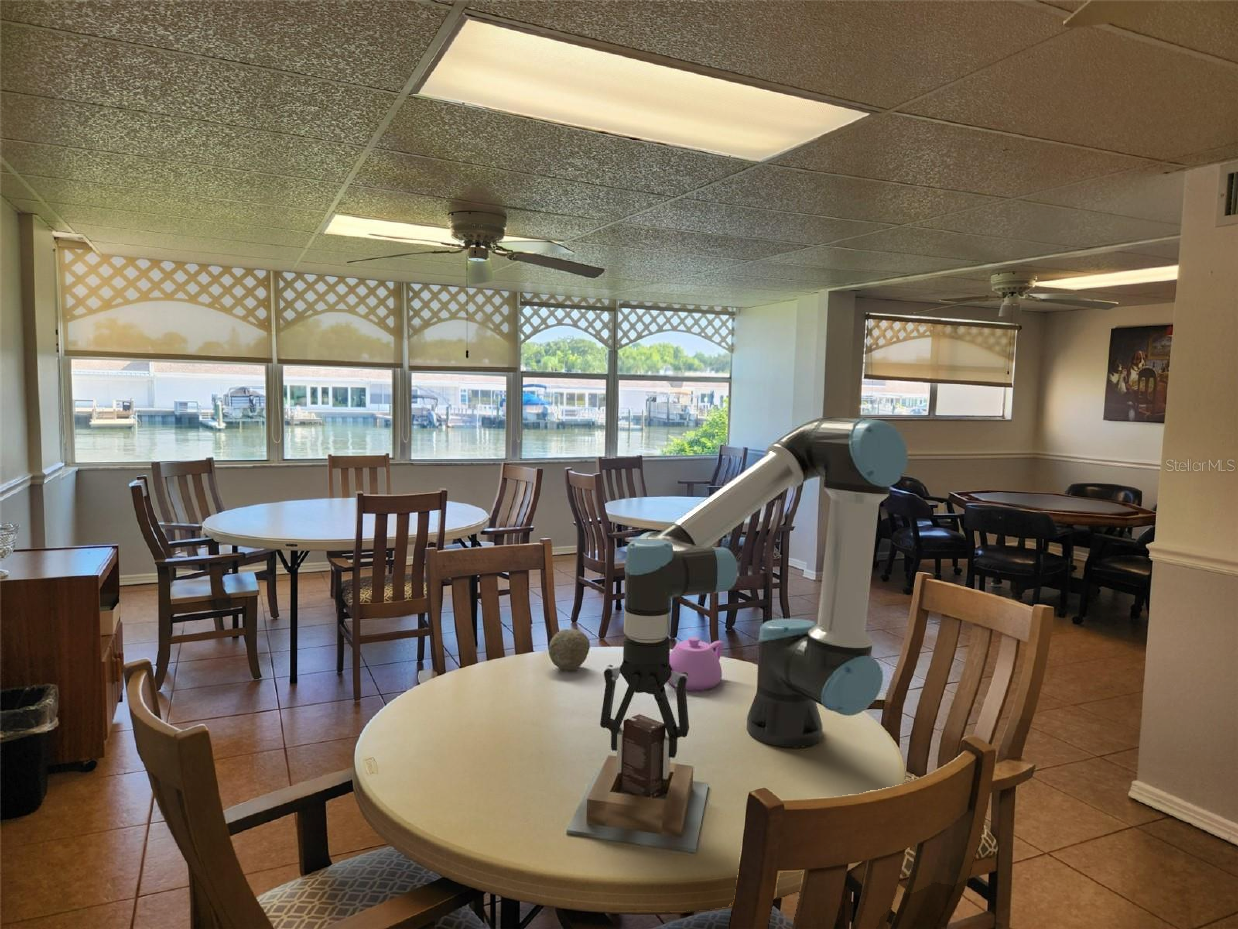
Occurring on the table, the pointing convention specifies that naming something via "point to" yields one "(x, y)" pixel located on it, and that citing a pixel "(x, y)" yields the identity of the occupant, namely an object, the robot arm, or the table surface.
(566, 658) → the decorative stone
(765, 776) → the table surface
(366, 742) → the table surface
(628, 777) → the box
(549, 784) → the table surface
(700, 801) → the socket
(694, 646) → the teapot
